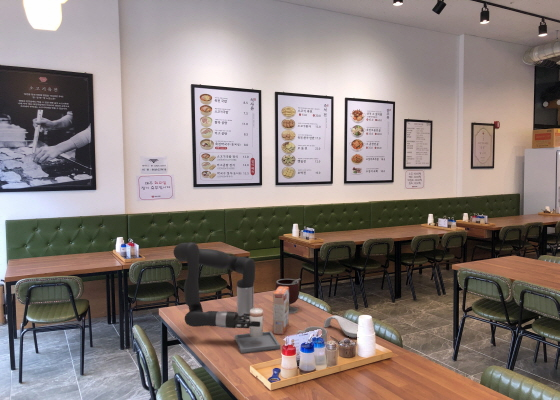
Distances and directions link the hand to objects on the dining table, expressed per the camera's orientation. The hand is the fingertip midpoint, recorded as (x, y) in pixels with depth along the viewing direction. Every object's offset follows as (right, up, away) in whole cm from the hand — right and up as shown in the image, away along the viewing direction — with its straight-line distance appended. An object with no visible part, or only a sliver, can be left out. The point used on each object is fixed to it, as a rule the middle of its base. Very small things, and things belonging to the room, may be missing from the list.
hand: (261, 321), depth 207 cm
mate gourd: (+14, -8, +50) cm, 52 cm away
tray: (-2, -11, +1) cm, 11 cm away
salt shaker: (-2, -6, +1) cm, 7 cm away
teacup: (+24, -11, -2) cm, 26 cm away
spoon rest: (+41, -10, +16) cm, 45 cm away
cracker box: (+9, -10, +20) cm, 24 cm away
